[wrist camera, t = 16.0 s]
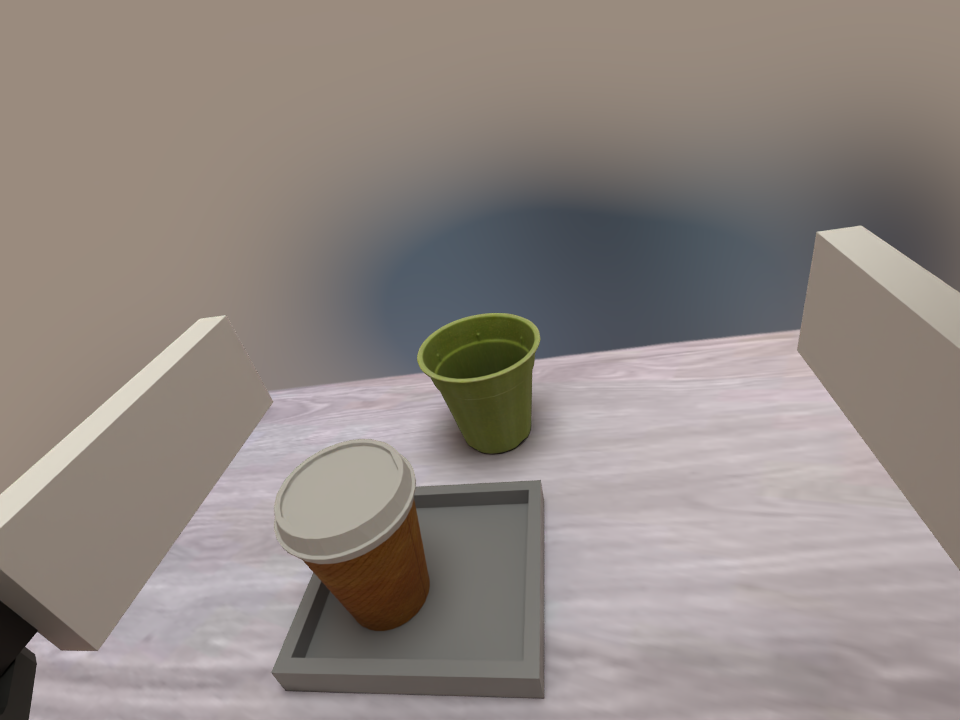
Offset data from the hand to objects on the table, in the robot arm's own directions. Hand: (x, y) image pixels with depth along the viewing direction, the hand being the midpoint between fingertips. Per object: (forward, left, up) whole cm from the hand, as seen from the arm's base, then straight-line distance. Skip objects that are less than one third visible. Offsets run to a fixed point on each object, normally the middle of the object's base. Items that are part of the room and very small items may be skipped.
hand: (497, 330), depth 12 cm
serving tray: (+11, -13, -30) cm, 34 cm away
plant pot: (+7, -31, -30) cm, 43 cm away
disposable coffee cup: (+14, -12, -29) cm, 34 cm away
